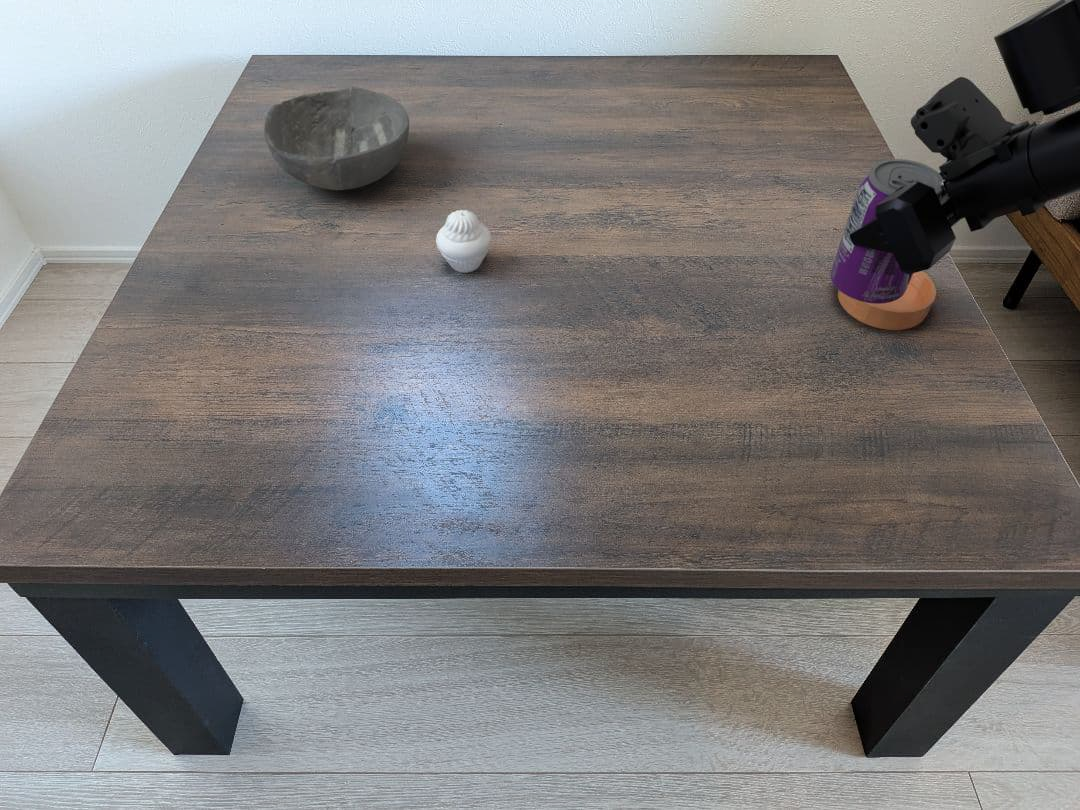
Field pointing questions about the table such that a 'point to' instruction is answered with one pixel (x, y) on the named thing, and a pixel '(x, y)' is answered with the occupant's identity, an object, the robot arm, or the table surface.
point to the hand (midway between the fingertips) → (873, 223)
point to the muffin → (463, 241)
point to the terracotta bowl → (895, 306)
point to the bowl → (337, 137)
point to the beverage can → (867, 268)
